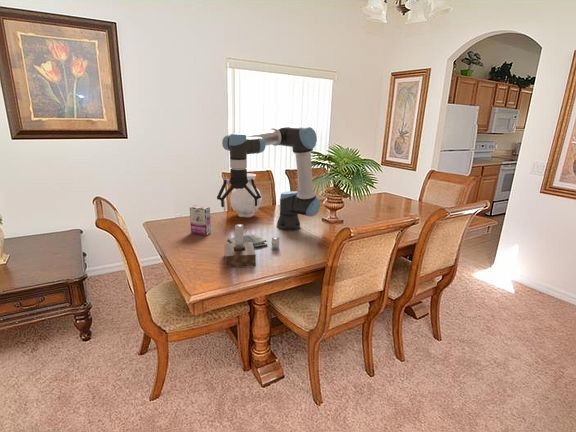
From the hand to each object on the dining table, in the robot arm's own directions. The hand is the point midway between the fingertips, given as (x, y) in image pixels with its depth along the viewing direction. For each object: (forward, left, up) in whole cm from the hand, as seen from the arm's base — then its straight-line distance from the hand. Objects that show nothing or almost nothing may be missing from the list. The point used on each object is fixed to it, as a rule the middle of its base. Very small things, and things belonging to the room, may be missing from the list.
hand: (239, 213), depth 158 cm
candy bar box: (+20, -42, -24) cm, 52 cm away
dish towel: (-6, -22, -25) cm, 34 cm away
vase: (-10, -75, -24) cm, 79 cm away
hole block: (0, 0, -24) cm, 24 cm away
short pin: (-20, -12, -24) cm, 33 cm away
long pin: (0, 0, -24) cm, 24 cm away
